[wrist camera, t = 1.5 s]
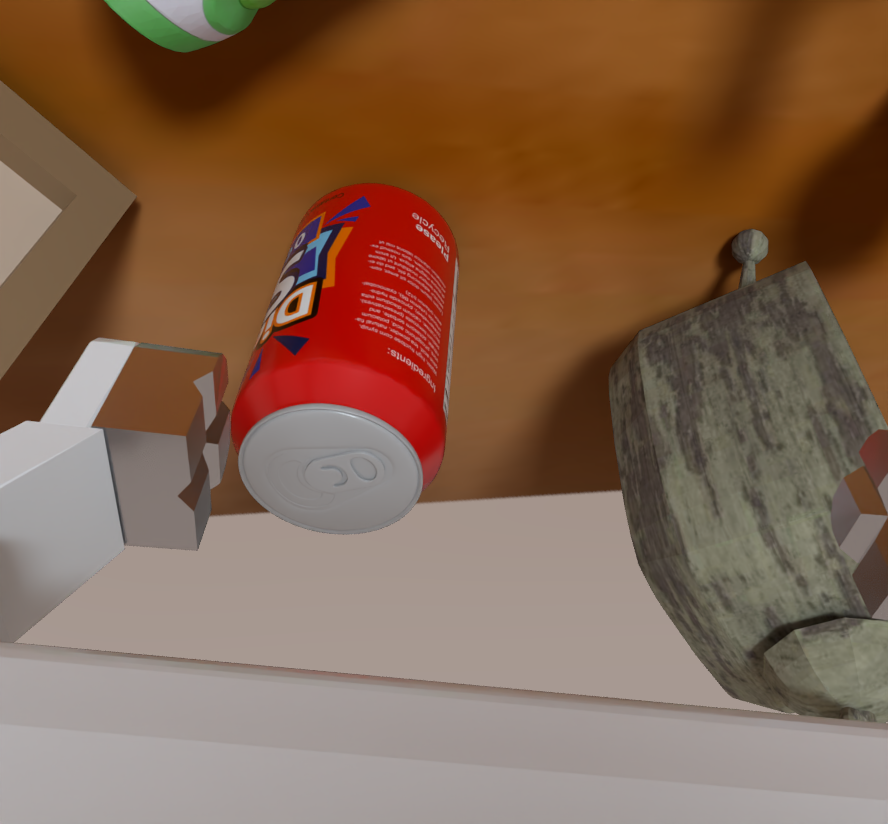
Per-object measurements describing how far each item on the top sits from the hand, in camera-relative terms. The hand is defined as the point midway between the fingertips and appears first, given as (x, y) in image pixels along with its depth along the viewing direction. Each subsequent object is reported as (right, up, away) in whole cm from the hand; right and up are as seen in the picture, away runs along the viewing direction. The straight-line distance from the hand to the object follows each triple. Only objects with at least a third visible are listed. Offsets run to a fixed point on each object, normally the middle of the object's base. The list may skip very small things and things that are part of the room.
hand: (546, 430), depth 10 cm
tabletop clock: (+13, +4, +32) cm, 35 cm away
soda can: (-4, +8, +30) cm, 31 cm away
